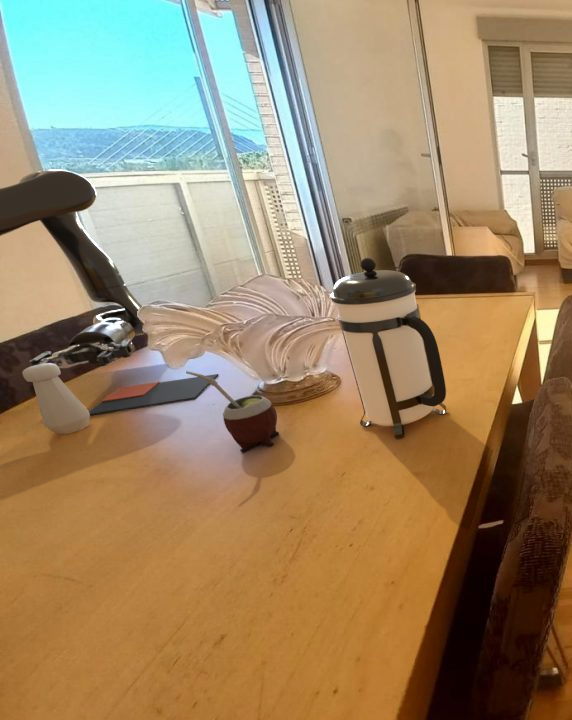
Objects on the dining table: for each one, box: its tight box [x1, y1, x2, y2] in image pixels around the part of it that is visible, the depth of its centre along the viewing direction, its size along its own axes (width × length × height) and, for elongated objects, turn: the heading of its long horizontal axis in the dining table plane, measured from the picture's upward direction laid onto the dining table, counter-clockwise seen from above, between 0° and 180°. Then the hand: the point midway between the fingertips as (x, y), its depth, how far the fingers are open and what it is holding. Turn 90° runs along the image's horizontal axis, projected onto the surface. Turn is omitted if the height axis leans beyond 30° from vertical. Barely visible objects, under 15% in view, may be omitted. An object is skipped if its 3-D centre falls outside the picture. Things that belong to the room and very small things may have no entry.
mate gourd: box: [185, 370, 280, 454], centre depth 79 cm, size 8×8×15 cm
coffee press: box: [330, 257, 447, 439], centre depth 82 cm, size 17×16×30 cm
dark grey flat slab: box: [88, 373, 219, 417], centre depth 102 cm, size 18×13×1 cm
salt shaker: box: [22, 363, 91, 435], centre depth 87 cm, size 6×6×13 cm
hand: (71, 366), depth 94 cm, fingers open, 8 cm apart
